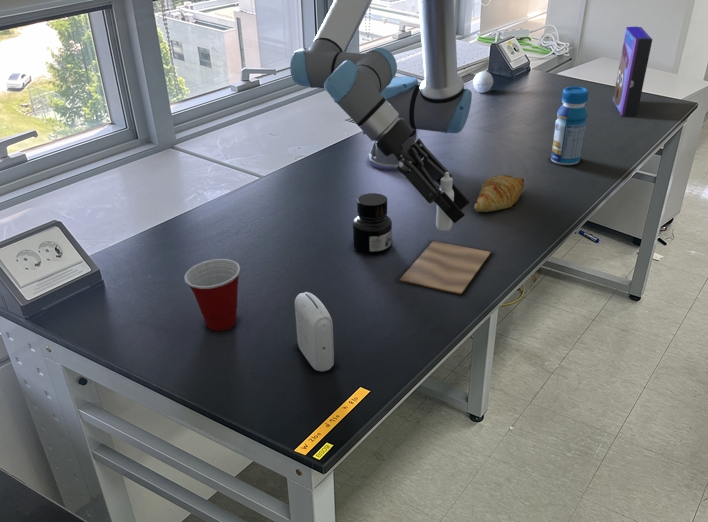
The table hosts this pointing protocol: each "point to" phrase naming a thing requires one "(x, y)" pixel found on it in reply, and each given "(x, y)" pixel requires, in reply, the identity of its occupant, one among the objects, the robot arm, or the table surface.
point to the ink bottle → (372, 225)
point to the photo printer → (314, 331)
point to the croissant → (499, 193)
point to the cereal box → (632, 71)
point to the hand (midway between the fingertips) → (462, 212)
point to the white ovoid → (483, 82)
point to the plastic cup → (215, 291)
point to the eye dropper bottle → (441, 218)
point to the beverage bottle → (570, 126)
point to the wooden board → (446, 267)
